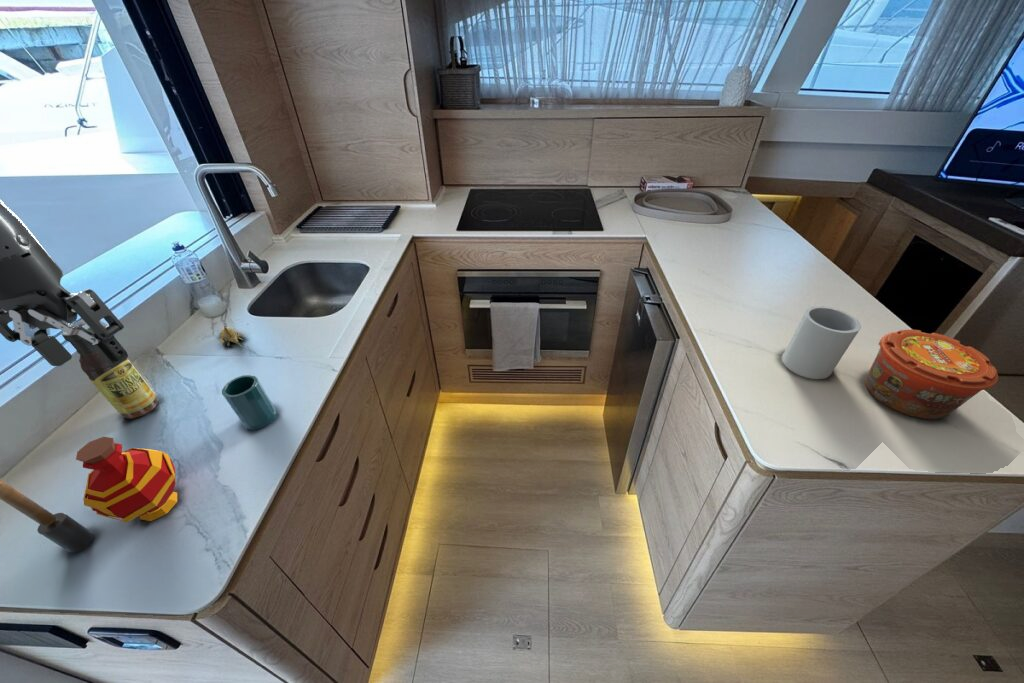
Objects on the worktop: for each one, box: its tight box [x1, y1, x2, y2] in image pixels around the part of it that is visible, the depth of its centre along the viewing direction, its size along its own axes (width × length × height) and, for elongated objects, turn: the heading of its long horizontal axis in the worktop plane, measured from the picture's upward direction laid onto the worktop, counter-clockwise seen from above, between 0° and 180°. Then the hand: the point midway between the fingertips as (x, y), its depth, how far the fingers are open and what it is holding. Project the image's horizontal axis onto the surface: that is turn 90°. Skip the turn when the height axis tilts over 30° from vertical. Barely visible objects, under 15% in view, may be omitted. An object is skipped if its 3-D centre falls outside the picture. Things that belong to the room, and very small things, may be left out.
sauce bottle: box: [61, 326, 159, 420], centre depth 74 cm, size 7×6×20 cm
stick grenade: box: [0, 478, 95, 554], centre depth 52 cm, size 3×3×22 cm
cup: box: [781, 305, 862, 380], centre depth 81 cm, size 9×9×12 cm
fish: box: [219, 325, 244, 348], centre depth 95 cm, size 5×14×5 cm, turn 49°
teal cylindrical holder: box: [221, 374, 278, 431], centre depth 74 cm, size 6×6×9 cm
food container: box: [864, 329, 999, 421], centre depth 74 cm, size 16×16×11 cm
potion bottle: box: [75, 436, 178, 523], centre depth 59 cm, size 10×10×15 cm
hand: (92, 361), depth 54 cm, fingers open, 8 cm apart
